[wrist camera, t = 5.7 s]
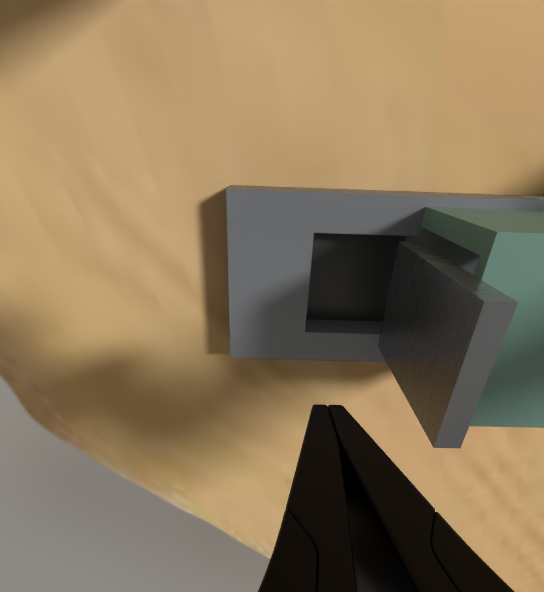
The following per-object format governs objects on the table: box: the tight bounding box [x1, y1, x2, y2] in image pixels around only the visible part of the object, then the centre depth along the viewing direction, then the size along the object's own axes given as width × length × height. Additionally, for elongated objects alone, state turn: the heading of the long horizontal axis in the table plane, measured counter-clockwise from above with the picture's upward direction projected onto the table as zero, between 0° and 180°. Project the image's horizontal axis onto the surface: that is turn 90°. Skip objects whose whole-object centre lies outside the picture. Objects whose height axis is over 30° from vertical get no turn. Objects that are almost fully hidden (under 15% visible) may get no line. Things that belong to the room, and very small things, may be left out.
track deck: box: [226, 185, 544, 362], centre depth 19 cm, size 23×10×2 cm, turn 88°
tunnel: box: [421, 207, 544, 428], centre depth 15 cm, size 6×9×6 cm, turn 178°
